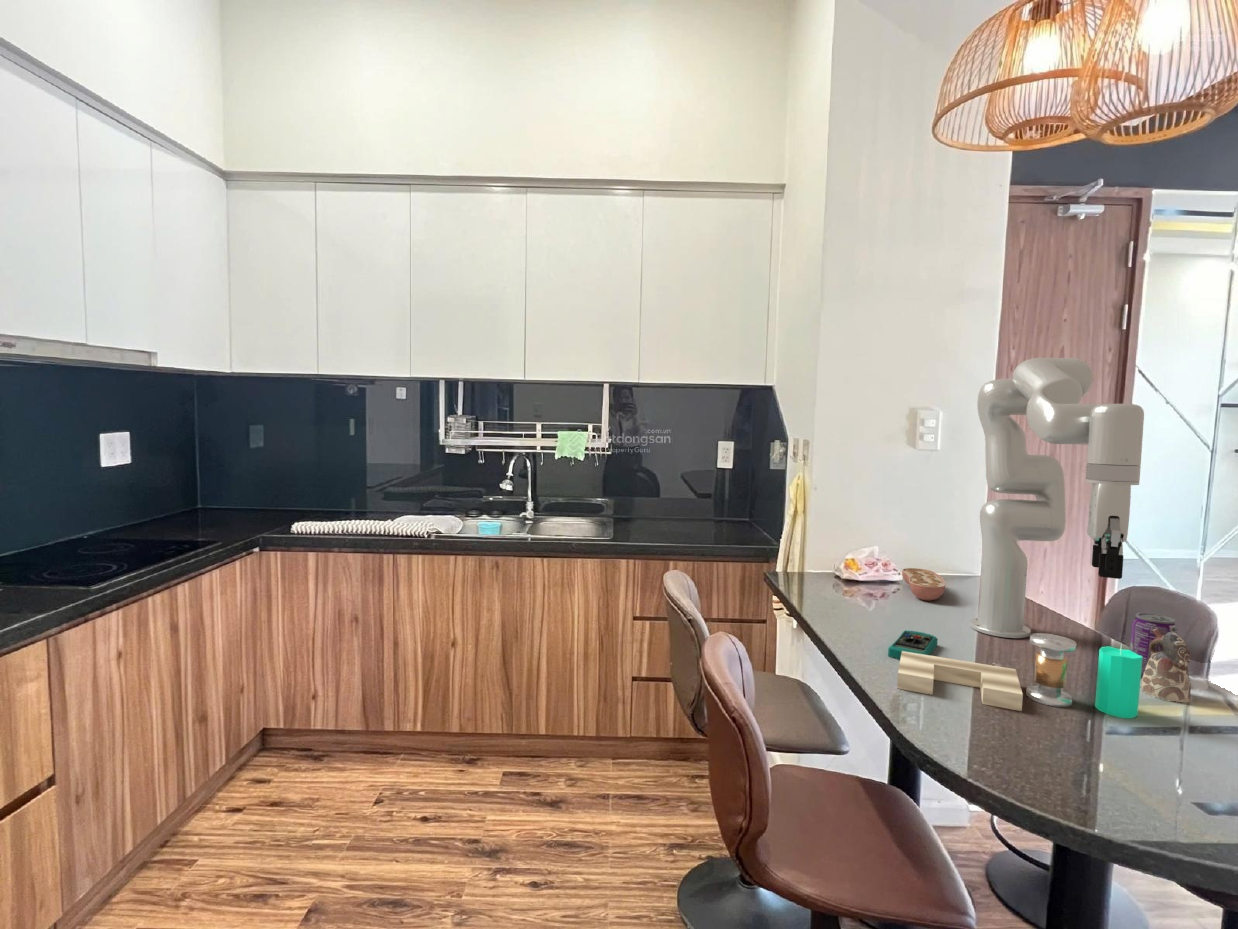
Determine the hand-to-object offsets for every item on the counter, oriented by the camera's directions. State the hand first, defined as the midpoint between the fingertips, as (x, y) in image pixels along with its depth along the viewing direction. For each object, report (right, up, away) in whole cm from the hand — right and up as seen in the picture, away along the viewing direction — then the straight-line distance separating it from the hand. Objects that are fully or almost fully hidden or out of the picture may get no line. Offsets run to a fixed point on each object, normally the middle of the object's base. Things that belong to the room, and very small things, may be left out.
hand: (1106, 572), depth 117 cm
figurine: (+16, -24, +7) cm, 30 cm away
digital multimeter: (-22, -22, +28) cm, 42 cm away
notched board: (-22, -23, +9) cm, 33 cm away
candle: (+2, -24, 0) cm, 24 cm away
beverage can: (+21, -24, +16) cm, 35 cm away
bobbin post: (-7, -24, +4) cm, 25 cm away
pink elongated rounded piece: (+3, -19, +76) cm, 78 cm away
